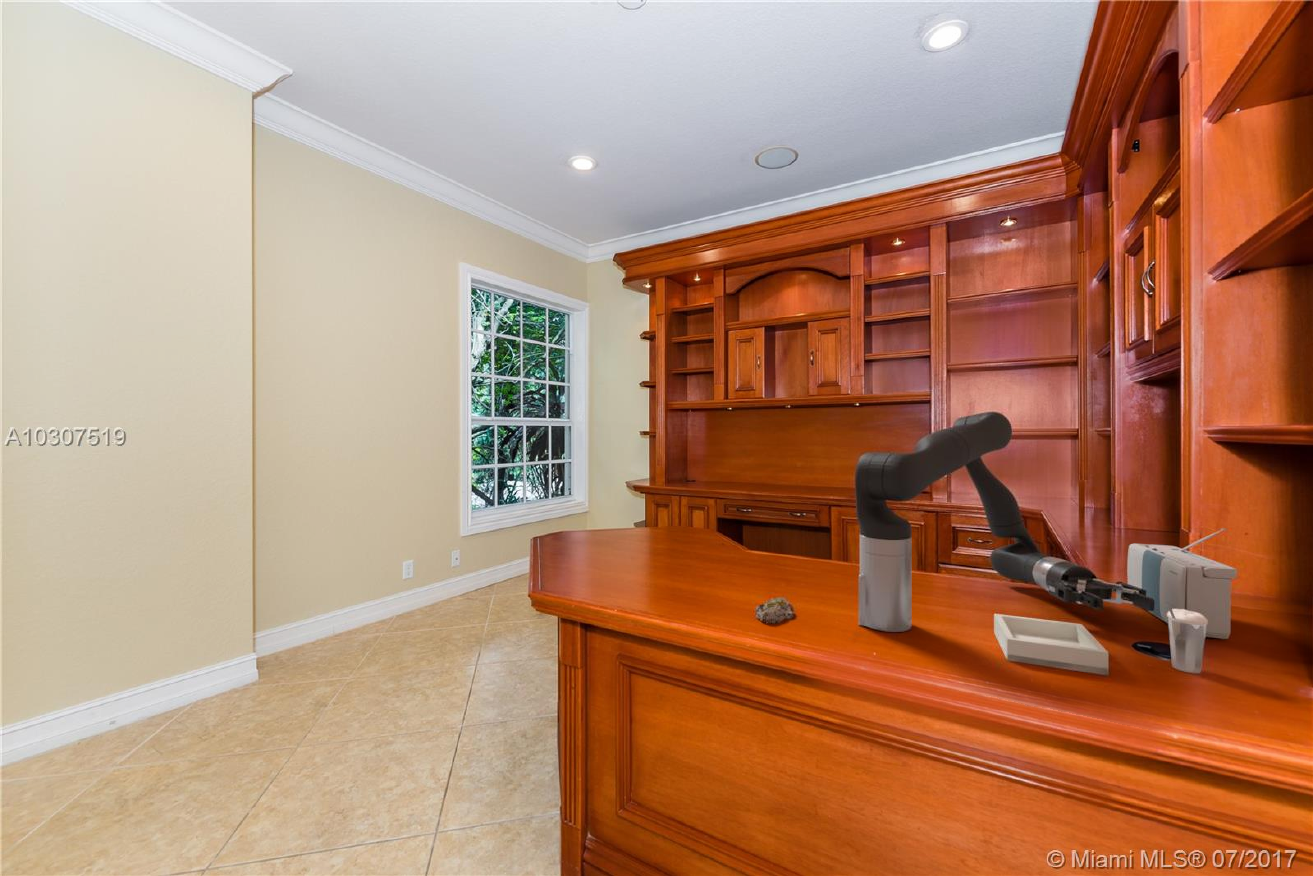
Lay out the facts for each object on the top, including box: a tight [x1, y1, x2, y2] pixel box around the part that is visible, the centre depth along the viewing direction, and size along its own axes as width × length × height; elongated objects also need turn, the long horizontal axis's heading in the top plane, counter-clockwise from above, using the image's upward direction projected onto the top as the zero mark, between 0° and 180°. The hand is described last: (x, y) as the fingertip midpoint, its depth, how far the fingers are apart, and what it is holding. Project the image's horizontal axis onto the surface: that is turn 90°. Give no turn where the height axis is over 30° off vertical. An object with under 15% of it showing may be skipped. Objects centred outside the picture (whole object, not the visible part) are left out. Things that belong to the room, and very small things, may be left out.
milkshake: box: [1167, 606, 1208, 675], centre depth 82 cm, size 4×5×10 cm
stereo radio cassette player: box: [1126, 527, 1238, 640], centre depth 103 cm, size 21×8×20 cm, turn 159°
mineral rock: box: [755, 596, 795, 625], centre depth 107 cm, size 11×4×8 cm
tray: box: [993, 613, 1109, 676], centre depth 89 cm, size 13×13×4 cm
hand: (1126, 605), depth 93 cm, fingers open, 8 cm apart
